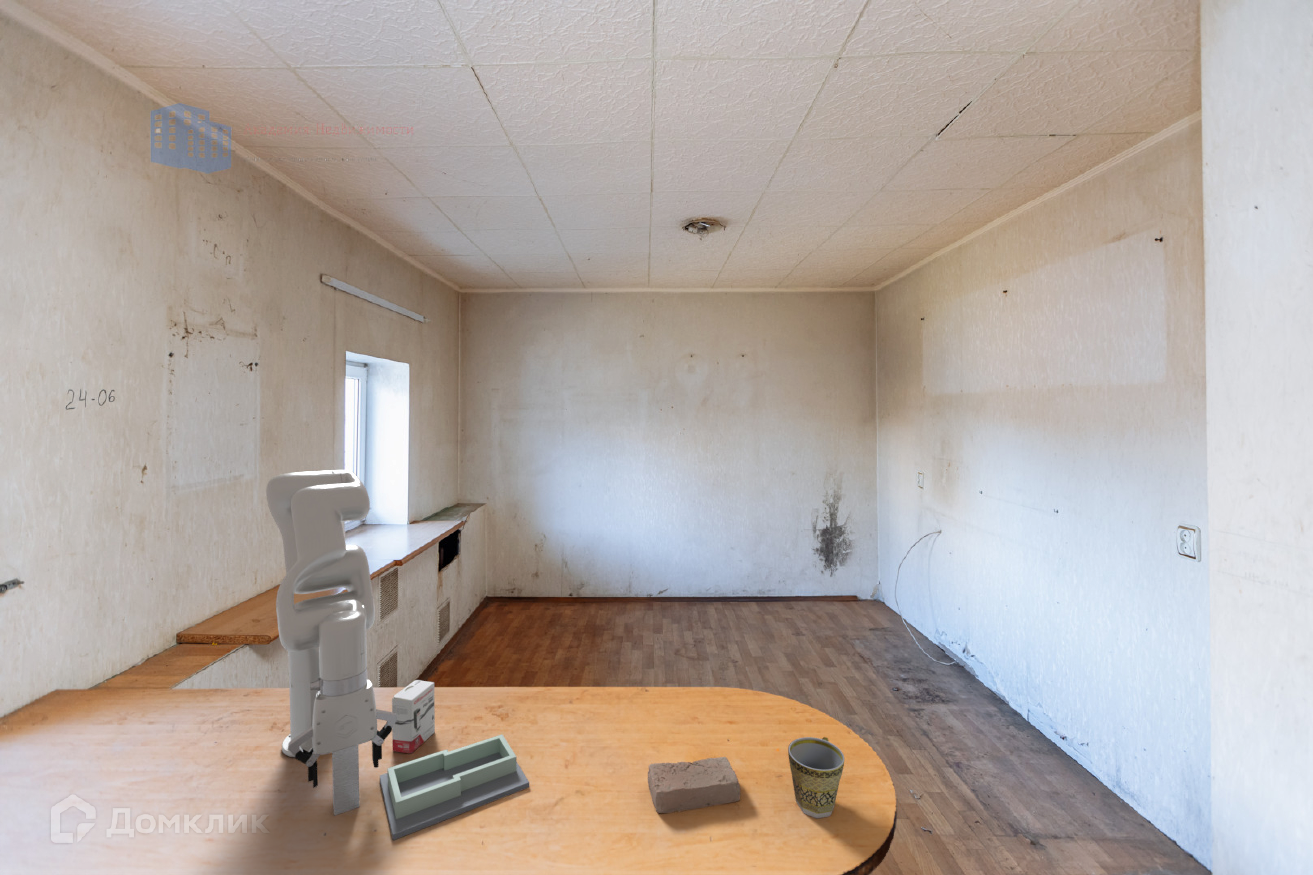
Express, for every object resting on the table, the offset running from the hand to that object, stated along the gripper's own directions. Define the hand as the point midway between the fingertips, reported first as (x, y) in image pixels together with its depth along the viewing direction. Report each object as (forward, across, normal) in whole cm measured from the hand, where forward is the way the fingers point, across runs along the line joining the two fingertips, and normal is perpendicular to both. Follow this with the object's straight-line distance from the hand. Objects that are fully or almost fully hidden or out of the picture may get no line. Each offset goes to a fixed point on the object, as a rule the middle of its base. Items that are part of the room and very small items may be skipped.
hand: (346, 773), depth 99 cm
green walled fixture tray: (+6, +18, -4) cm, 19 cm away
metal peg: (+6, 0, +1) cm, 6 cm away
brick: (+7, +56, -32) cm, 65 cm away
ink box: (+6, +14, +15) cm, 21 cm away
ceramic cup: (+7, +74, -46) cm, 88 cm away
